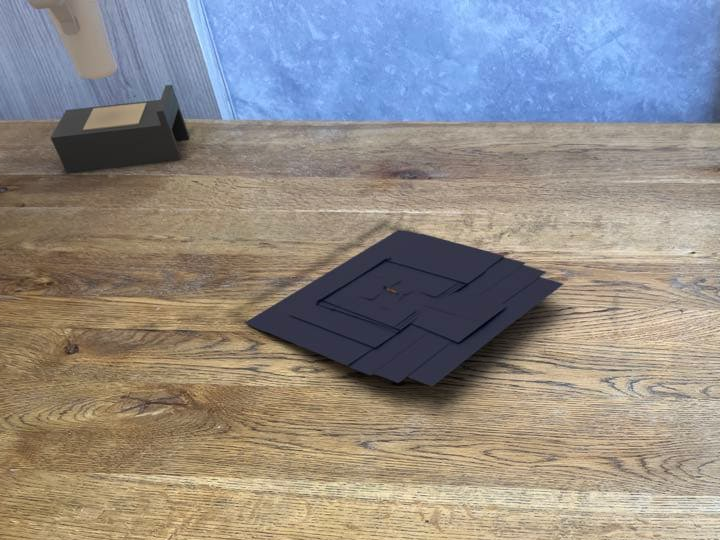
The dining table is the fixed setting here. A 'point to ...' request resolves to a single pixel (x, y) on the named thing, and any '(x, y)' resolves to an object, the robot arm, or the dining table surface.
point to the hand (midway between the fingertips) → (79, 24)
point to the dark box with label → (121, 134)
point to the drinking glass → (88, 41)
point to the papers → (408, 306)
